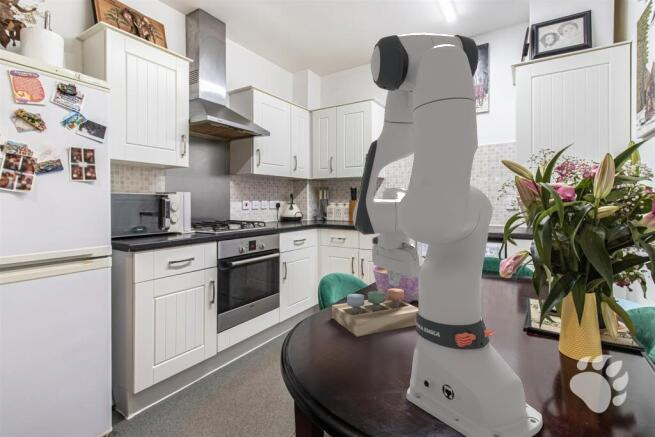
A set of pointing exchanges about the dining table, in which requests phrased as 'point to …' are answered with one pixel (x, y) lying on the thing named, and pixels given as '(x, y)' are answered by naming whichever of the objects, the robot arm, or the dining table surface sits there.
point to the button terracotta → (395, 296)
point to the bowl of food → (404, 283)
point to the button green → (376, 299)
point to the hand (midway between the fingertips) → (394, 285)
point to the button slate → (355, 302)
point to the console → (375, 317)
